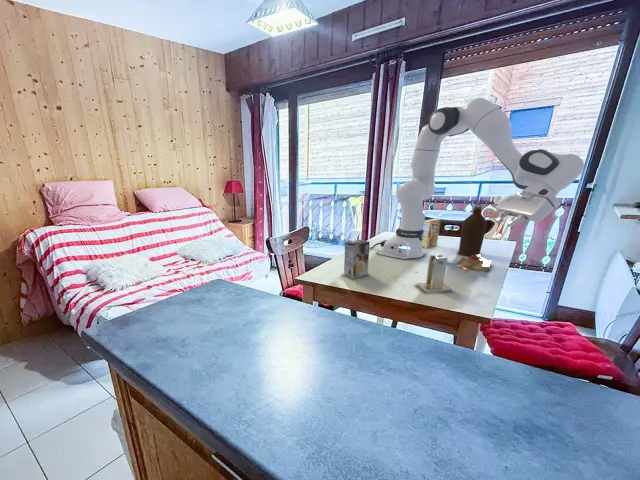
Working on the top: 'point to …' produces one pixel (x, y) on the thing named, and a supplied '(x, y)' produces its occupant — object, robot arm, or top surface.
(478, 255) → the button
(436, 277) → the bracket
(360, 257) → the coffee box
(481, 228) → the olive oil
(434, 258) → the lever
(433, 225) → the candy box
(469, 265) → the button block
